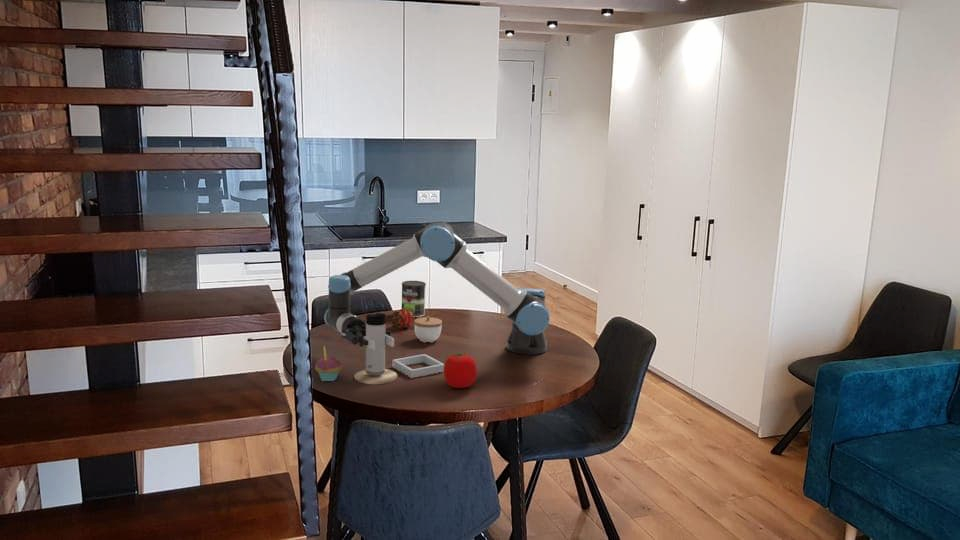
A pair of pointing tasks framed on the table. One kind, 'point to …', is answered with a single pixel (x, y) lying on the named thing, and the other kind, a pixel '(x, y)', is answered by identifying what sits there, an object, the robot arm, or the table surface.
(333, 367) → the cupcake
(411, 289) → the coffee can
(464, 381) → the tomato
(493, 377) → the table surface
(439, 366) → the grey square frame
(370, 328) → the travel mug
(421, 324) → the lidded jar
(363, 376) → the mat
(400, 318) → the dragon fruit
